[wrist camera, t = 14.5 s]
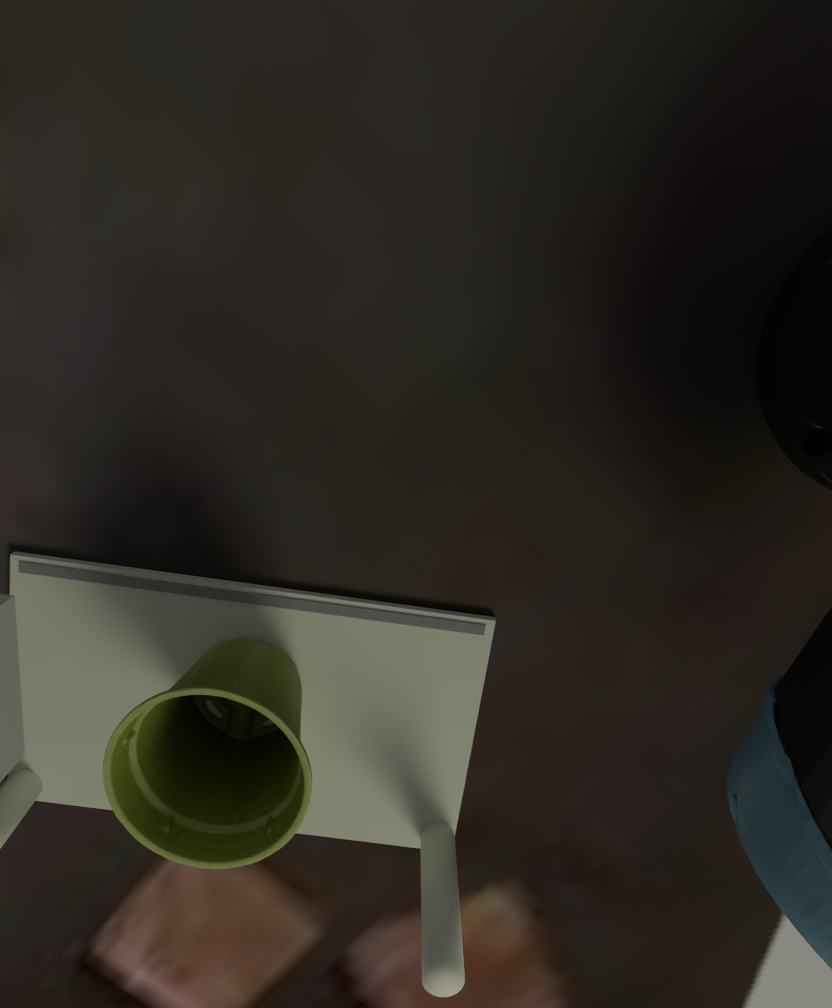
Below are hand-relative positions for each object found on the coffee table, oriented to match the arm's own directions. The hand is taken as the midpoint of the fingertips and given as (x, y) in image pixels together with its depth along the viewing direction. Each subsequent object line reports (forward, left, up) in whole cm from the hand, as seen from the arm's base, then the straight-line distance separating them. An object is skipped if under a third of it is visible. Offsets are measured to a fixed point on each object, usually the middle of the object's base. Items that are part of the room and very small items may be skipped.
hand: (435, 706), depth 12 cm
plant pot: (+7, +17, -29) cm, 34 cm away
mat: (+7, +18, -29) cm, 35 cm away
